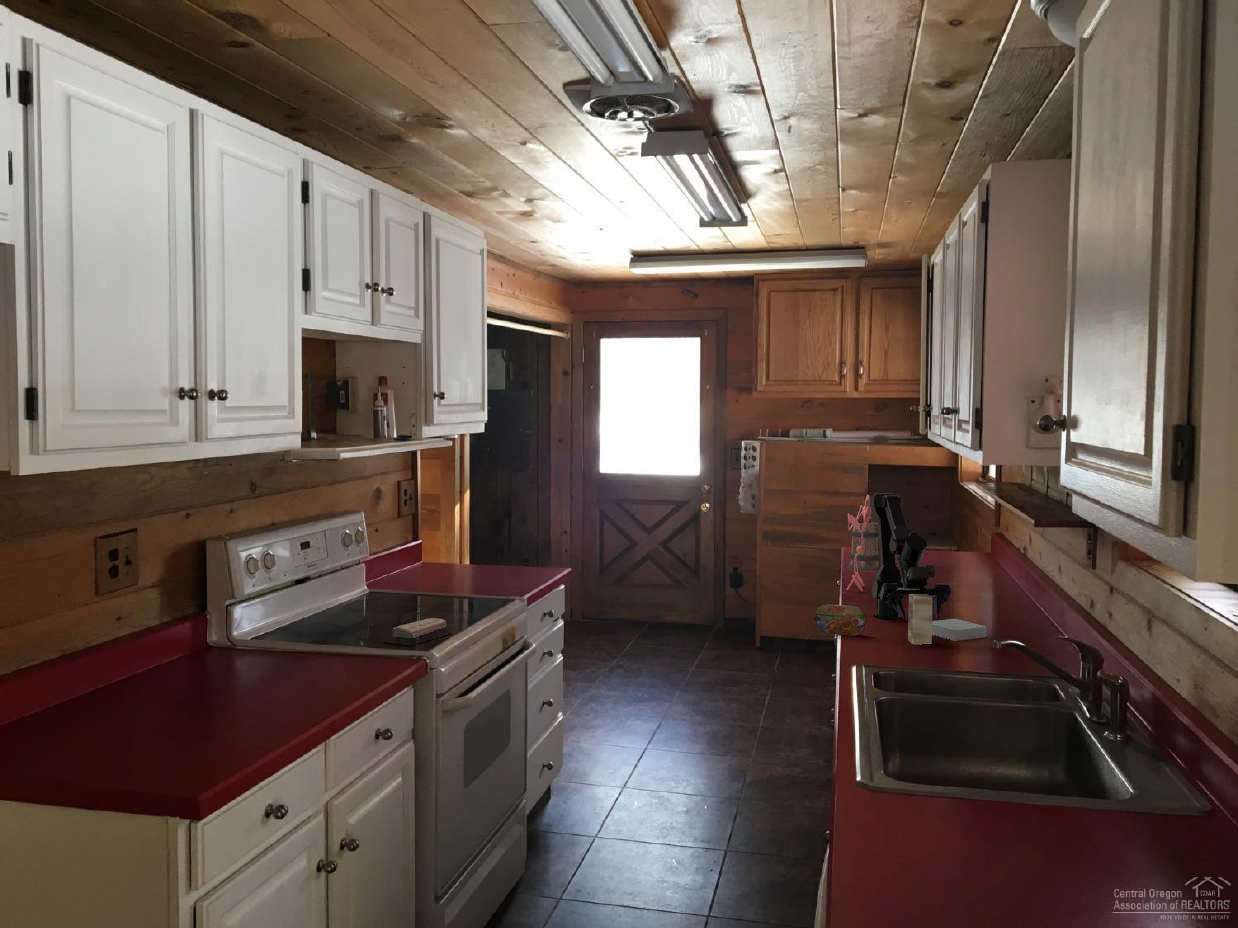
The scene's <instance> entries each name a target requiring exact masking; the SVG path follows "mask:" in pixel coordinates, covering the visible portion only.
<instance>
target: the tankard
mask: <svg viewBox="0 0 1238 928" xmlns="http://www.w3.org/2000/svg"><path fill="white" fill-rule="evenodd" d="M858 523H859V525H860V530H861V531H862V532H863V541H862V547H863V548H864V551H863V552H862V553H859V555H858V556H857V557H856V559H857V567H858V570H859V571H879V569H880V567H881V564H880V549H879V534H878V521H872V520H869V522H868V526H867V528H865V527H864V520H861V521H858ZM861 537H862V533H861V532H860V531H858V530H857V529H856V528H855V527H852V530H851V551H850V555H849V558H850V563H848V564H847V567H846V568H849V569H852V570H854V558H855V554H857V553H858V552H857V551H856V548H857V547H858V546H861ZM899 556H900V555H896V561H897V560H898V558H899ZM856 559H855V570H857V567H856ZM896 566H897V567H898V562H896Z"/></svg>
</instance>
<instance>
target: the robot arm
mask: <svg viewBox="0 0 1238 928" xmlns="http://www.w3.org/2000/svg"><path fill="white" fill-rule="evenodd" d="M901 501H902V500H901V496H900V495H897V494H894V492H874V493H873V494H872V495H871V496H870V499H869V505H870V507H871V510H872V512H871V515H872V516H873V517H874V518H875V519H876V522H878V534H879V549H880V564H881V567H880V569H879V571H878V573H876V574H875V580H874V583H873V586H872V588H871V594H872V595H871V596H872V597H873V598H874V599H875V600H876V613H875V614H872V616H873V617H874V618H878V619H882V620H886V621H889V620H897V619H905V620H906V611H905V609H904V608H905V607H904V605H903V601H902V600H903V599H904V596H909V594H927V595H929V596H931V597H932V609H933V612H934V616H935V618H936V619H937V620H938V619H940V615H941V606H942V605H944V603H947V602H948V601H949V598H950V596H951V594H952V586H951V585H950V584H949V583H935V584H934V586H933V588H926V587H927V585H928V580H929V579H930V578H931V579H933V578H934V577H935V576H936V570H935V566H934V565H933V564H932V565H926V566H920V561H921V560H923V557H924V553H925V551H926V548H927V546H928V542H927V540H926V539H925V538H924V537H923V536H921V535H918V532H917V531H916V532H915V531H912V529H909V528H908V524H907V521H906V519H905V515H904V513H903V509H902V505H901V504H902V502H901ZM898 555H900V556H899V558H898V560H897V559H896V556H898ZM896 561H897V562H896ZM896 563H898V566H896Z"/></svg>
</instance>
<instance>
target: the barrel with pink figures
mask: <svg viewBox="0 0 1238 928" xmlns="http://www.w3.org/2000/svg"><path fill="white" fill-rule="evenodd" d="M865 497H866V498H865V500H864V506H863V505H862V504H861V505H860V506H859V510H858V513H857V515H856V517H855V516H853V515H852V514H850V513H847V522H848V523H847V527H848V528H847V529H848V532H850V531H852V529H853V527H855V528H856V529H857V530H858V531H860V532H861V533H862V537H861V546H858V547H857V548H856V551H857V552H858V553H857V554H855V558H854V572H853V573H854V574H852V579H851V581H850V583H848V586H847V587H846V590H848V591H849V590H850V588H851V587H852V585H853V583H854V584H855V585H856V586H857V587H858V589H859V590H860V591H861V592H862V591H863V592H864V590H863V586H864V587H865V582H864V581H863V578H862V577H861V575H860V573H859V572H858V567H857V559H856V557H857V556H858V555H859V553H862V552H863V551H864V548H863V547H862V541H863V532H862V531H861V530H860V525H859V523H858V522H859V521H858V520H859V519H860V517H861V516H862V517H863V521H864V527H865V528H867V526H868V522H869V521H870V520H872V516H871V515H872V510H871V507H870V505H869V499H870V497H871V496H870V494H866V496H865ZM850 525H851V526H850ZM855 559H856V567H857V572H856V571H855ZM850 586H851V587H850ZM841 593H843V594H845V592H841Z"/></svg>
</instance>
